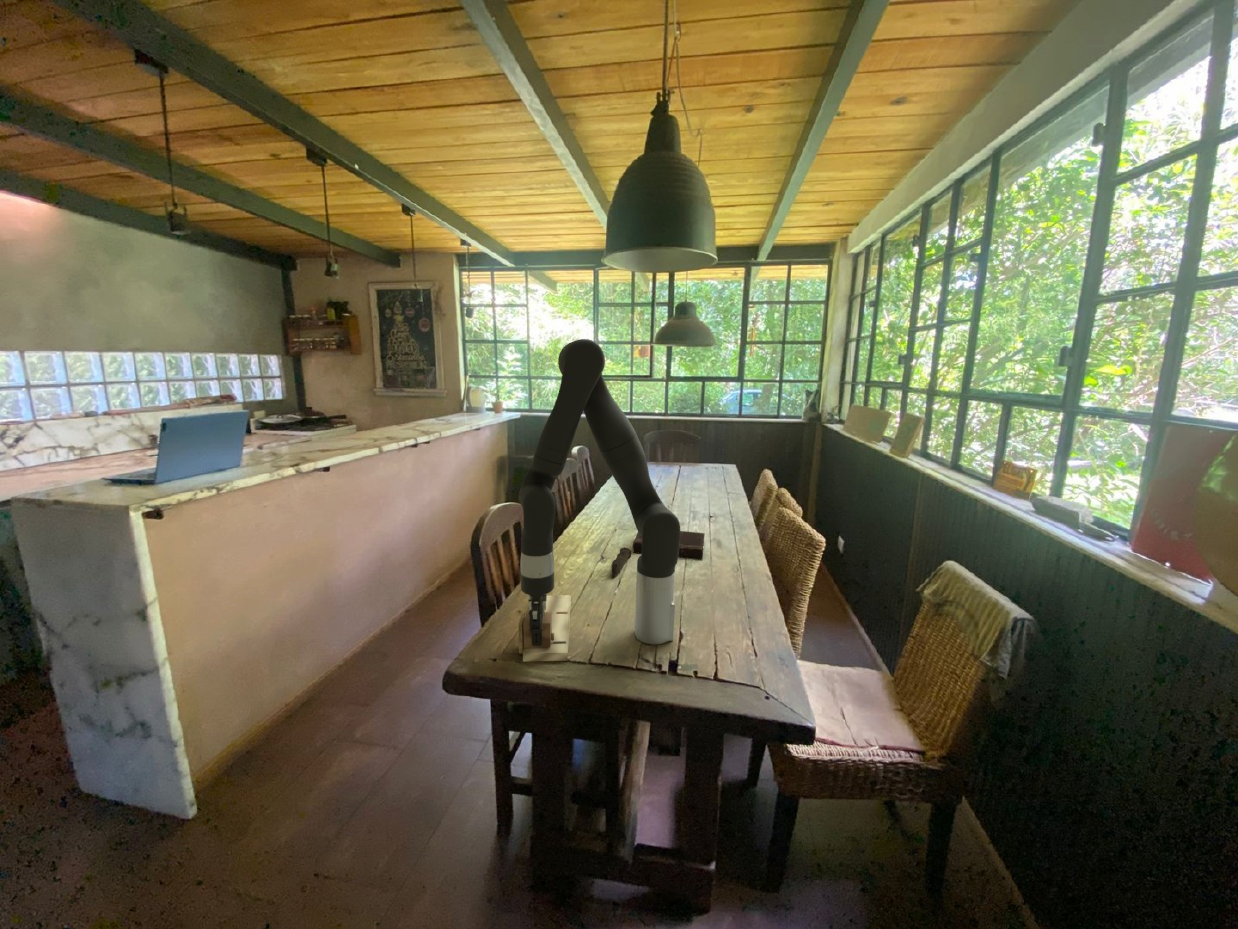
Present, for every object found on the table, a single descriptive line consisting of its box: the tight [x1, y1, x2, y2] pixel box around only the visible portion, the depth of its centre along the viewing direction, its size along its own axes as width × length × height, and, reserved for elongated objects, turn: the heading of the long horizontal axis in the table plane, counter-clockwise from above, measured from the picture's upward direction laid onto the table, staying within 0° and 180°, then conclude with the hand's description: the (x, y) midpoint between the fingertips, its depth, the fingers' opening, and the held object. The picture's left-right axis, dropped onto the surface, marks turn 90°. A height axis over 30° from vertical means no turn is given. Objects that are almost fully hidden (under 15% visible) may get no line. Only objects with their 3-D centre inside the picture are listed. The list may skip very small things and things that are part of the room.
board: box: [522, 594, 572, 663], centre depth 121 cm, size 10×28×2 cm, turn 4°
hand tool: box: [611, 547, 632, 579], centre depth 160 cm, size 19×4×5 cm, turn 165°
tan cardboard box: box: [518, 612, 554, 654], centre depth 111 cm, size 8×5×7 cm, turn 94°
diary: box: [632, 530, 705, 560], centre depth 179 cm, size 19×25×5 cm
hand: (538, 637), depth 111 cm, fingers closed on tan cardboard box, 5 cm apart
